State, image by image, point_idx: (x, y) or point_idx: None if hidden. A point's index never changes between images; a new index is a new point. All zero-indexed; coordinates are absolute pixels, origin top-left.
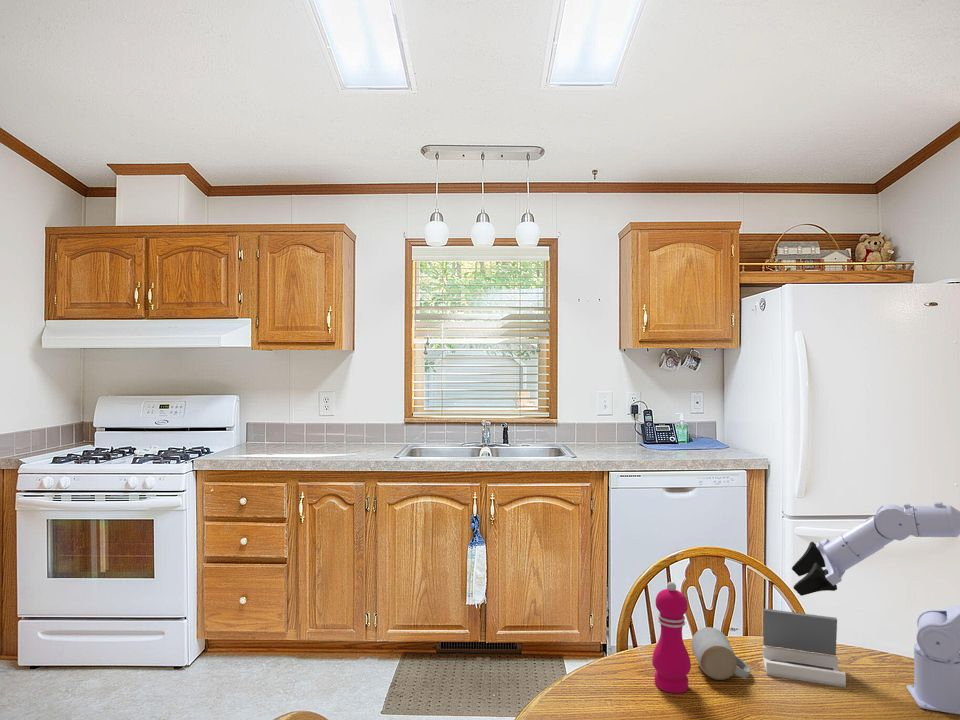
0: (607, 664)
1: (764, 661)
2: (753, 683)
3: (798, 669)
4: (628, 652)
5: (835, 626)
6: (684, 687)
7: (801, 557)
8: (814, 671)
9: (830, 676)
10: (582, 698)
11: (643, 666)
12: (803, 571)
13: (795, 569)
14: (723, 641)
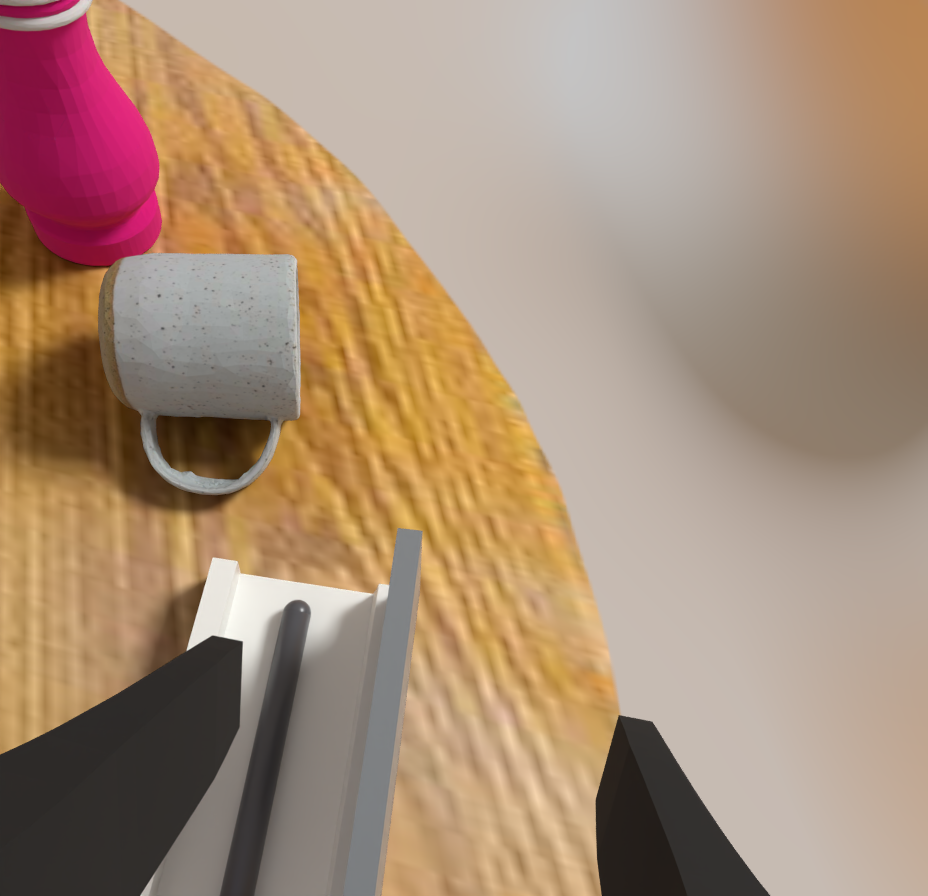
0: (237, 97)
1: (327, 588)
2: (132, 497)
3: None
4: (335, 164)
5: None
6: (39, 234)
7: (724, 857)
8: None
9: None
10: None
11: (237, 180)
12: (608, 858)
13: (617, 757)
14: (166, 317)
